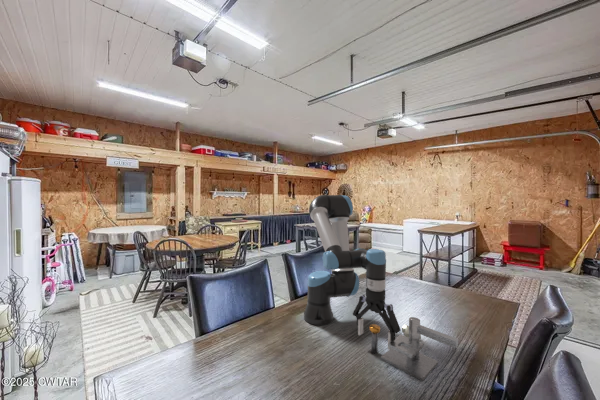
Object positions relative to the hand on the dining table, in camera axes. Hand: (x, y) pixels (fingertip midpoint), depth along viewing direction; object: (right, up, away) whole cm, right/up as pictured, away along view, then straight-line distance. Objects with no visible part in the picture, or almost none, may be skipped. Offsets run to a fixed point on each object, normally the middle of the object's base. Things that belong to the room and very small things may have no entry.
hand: (374, 340), depth 105 cm
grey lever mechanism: (+14, -5, -8) cm, 17 cm away
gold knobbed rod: (0, -5, 0) cm, 5 cm away
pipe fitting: (+19, -5, +12) cm, 23 cm away
